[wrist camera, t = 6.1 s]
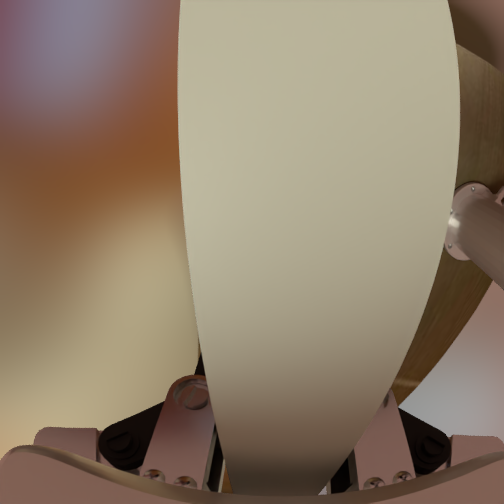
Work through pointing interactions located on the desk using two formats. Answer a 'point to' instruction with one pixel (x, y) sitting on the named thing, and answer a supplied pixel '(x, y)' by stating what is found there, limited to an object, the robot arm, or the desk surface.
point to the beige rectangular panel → (311, 215)
